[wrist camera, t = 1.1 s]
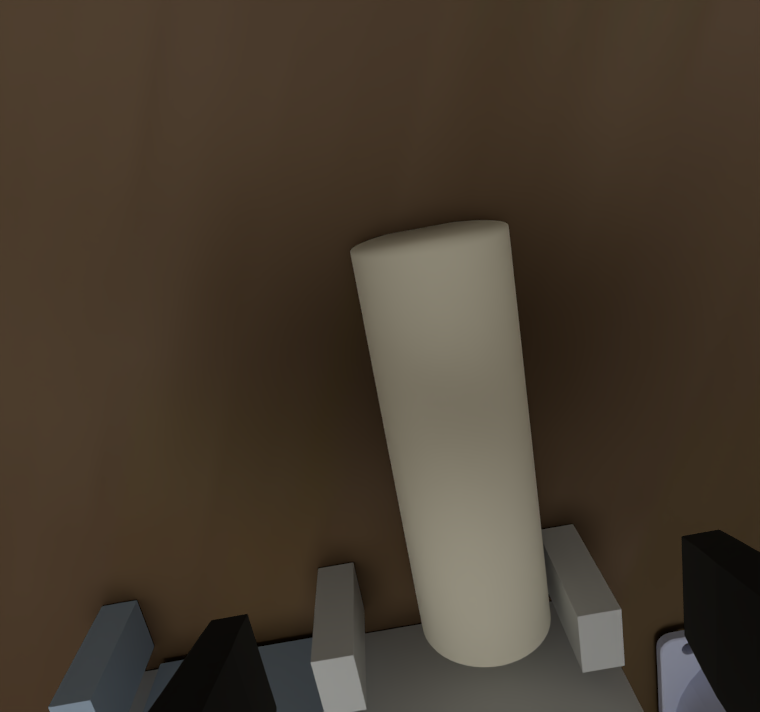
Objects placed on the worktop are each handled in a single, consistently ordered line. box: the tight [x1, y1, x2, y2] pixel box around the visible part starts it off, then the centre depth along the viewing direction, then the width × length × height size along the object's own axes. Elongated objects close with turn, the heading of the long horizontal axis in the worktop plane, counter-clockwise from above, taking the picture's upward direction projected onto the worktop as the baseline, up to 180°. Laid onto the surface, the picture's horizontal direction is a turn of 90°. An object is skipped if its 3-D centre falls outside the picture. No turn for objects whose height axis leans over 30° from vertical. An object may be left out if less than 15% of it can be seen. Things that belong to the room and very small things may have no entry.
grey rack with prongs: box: [48, 524, 644, 712], centre depth 19 cm, size 16×4×5 cm, turn 100°
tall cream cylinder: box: [350, 220, 551, 667], centre depth 18 cm, size 12×4×4 cm, turn 10°
